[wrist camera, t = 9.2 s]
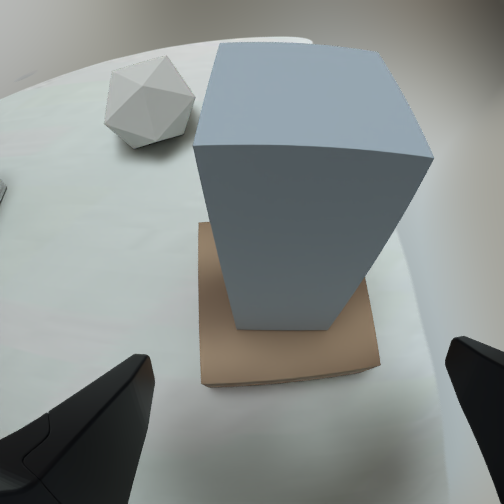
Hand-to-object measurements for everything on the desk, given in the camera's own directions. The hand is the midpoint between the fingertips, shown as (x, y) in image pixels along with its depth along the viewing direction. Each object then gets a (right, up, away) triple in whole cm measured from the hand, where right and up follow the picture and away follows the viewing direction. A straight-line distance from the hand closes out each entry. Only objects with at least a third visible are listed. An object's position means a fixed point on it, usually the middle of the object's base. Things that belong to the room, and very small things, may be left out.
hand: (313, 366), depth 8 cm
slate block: (0, +1, +10) cm, 10 cm away
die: (-11, +15, +22) cm, 29 cm away
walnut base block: (0, -1, +14) cm, 14 cm away
